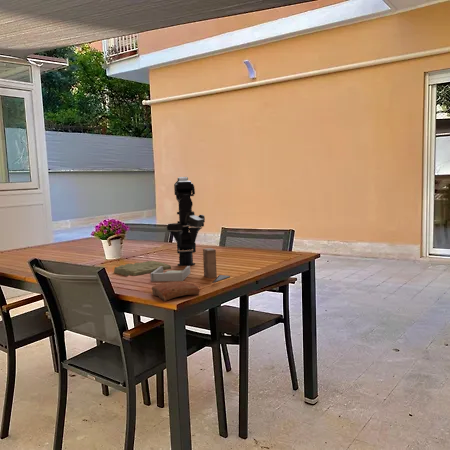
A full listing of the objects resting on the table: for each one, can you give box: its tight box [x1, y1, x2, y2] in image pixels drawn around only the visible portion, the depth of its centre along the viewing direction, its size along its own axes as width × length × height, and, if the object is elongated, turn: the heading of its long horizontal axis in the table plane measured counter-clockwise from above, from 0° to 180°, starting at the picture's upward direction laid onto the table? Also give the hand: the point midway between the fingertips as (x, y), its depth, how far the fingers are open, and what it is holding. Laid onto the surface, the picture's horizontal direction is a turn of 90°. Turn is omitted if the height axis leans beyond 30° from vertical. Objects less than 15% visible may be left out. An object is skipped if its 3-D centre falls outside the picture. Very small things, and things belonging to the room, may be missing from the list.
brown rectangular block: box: [202, 247, 218, 279], centre depth 185 cm, size 6×4×12 cm, turn 22°
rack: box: [149, 265, 191, 282], centre depth 187 cm, size 15×13×4 cm
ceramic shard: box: [151, 281, 201, 302], centre depth 162 cm, size 15×6×15 cm
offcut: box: [164, 270, 183, 273], centre depth 191 cm, size 5×6×2 cm
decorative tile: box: [113, 260, 172, 277], centre depth 206 cm, size 19×20×4 cm
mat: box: [211, 274, 231, 284], centre depth 186 cm, size 12×12×1 cm
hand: (186, 244), depth 196 cm, fingers open, 9 cm apart
